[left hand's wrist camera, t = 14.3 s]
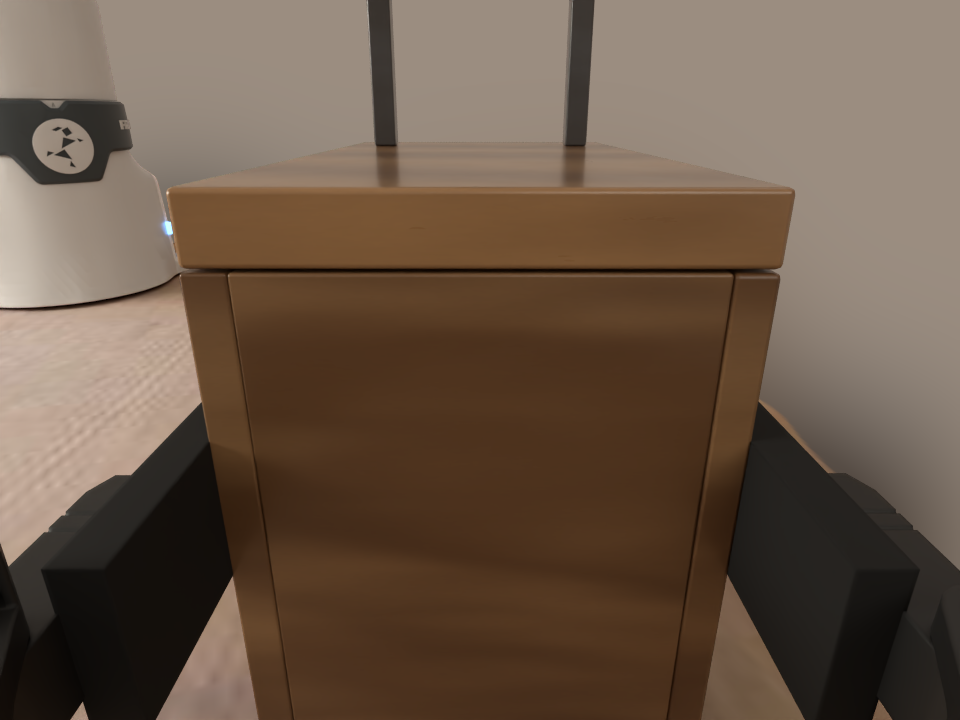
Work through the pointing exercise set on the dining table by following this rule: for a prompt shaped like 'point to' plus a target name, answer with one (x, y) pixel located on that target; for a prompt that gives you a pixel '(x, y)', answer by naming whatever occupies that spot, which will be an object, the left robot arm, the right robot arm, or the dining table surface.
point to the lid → (480, 198)
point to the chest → (479, 482)
